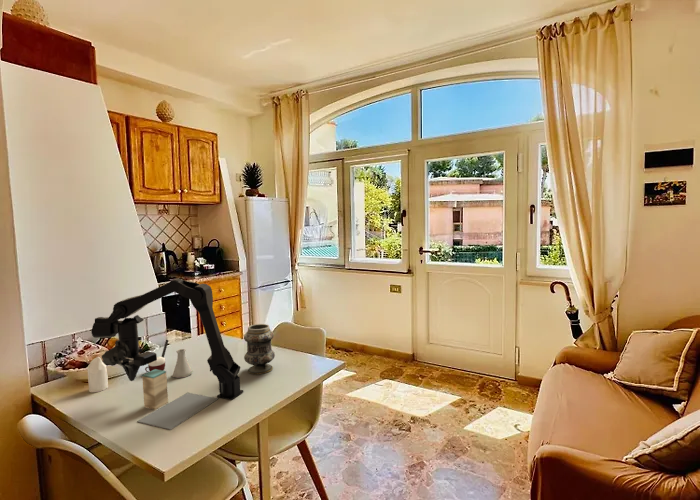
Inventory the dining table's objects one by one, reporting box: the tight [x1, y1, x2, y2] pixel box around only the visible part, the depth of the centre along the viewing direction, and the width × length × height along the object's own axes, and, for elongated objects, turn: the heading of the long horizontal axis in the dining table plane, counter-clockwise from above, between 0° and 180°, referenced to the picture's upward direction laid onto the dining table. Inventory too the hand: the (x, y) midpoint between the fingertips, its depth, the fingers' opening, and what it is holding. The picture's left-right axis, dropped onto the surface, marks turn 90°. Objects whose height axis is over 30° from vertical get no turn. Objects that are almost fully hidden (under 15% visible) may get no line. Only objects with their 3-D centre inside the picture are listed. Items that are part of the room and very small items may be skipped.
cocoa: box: [144, 339, 169, 373], centre depth 153 cm, size 10×6×12 cm, turn 119°
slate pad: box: [136, 391, 219, 431], centre depth 122 cm, size 14×20×1 cm
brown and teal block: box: [141, 369, 169, 411], centre depth 125 cm, size 5×5×11 cm
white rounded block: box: [86, 356, 109, 393], centre depth 138 cm, size 6×12×6 cm
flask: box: [171, 348, 194, 379], centre depth 149 cm, size 7×7×10 cm
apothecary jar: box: [243, 323, 276, 375], centre depth 152 cm, size 12×12×18 cm
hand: (132, 380), depth 129 cm, fingers closed
